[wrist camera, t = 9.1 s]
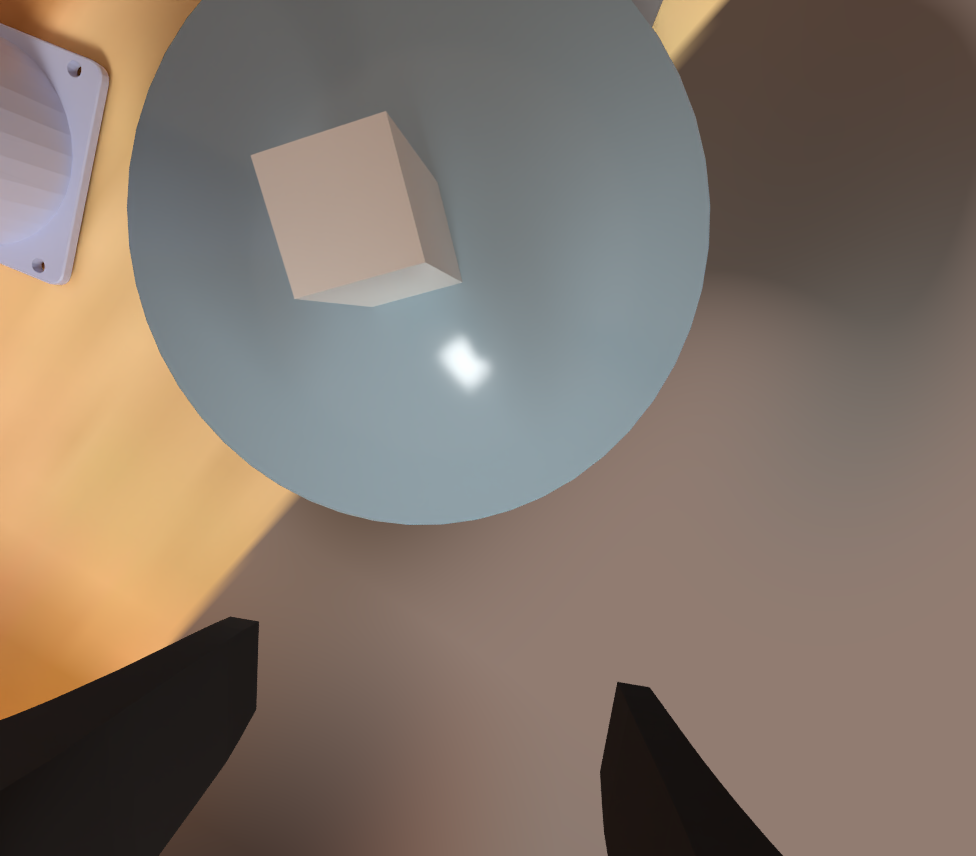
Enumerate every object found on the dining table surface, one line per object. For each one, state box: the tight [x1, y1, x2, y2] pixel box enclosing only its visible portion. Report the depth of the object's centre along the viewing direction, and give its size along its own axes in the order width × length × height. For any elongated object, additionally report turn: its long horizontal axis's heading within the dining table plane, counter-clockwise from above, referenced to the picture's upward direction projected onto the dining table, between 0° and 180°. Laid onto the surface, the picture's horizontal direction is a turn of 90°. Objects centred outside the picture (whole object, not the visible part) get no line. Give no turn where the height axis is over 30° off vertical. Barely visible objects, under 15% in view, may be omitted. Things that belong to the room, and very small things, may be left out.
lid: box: [127, 0, 710, 525], centre depth 13 cm, size 17×17×6 cm
